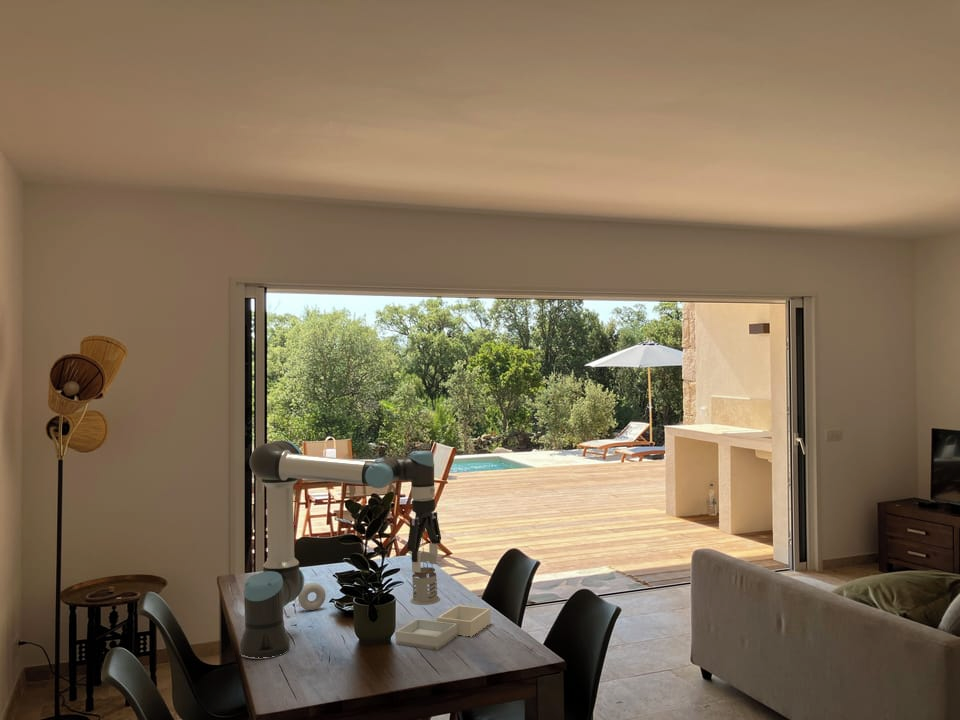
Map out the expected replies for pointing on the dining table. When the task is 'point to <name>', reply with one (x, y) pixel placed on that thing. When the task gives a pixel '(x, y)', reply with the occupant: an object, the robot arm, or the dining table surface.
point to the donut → (305, 592)
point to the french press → (425, 582)
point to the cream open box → (467, 619)
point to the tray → (426, 634)
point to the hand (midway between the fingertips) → (425, 567)
